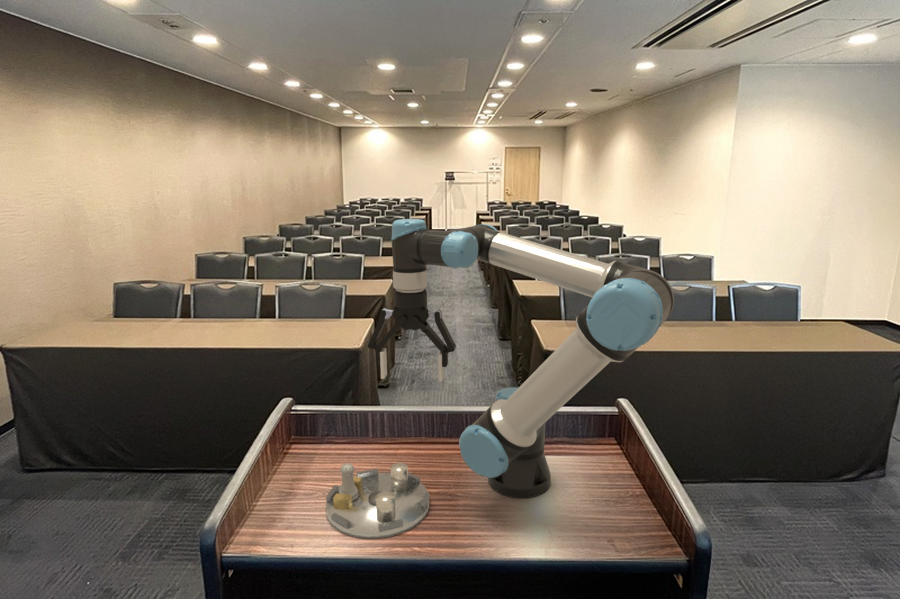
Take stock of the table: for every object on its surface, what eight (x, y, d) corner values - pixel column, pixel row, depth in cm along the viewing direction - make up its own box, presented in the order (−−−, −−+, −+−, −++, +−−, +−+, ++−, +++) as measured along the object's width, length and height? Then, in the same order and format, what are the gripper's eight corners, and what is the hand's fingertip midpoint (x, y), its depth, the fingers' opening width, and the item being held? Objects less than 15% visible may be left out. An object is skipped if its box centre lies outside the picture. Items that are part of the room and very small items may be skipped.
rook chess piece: (354, 504, 124) (352, 471, 122) (335, 501, 125) (333, 469, 123) (361, 492, 128) (360, 461, 126) (343, 490, 129) (341, 459, 127)
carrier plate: (437, 482, 135) (437, 457, 133) (417, 543, 113) (416, 515, 111) (346, 474, 138) (345, 451, 137) (310, 533, 116) (307, 505, 115)
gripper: (467, 286, 126) (467, 375, 131) (361, 284, 130) (365, 370, 135) (463, 294, 119) (463, 387, 123) (351, 291, 122) (355, 381, 127)
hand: (412, 378), depth 129 cm, fingers open, 13 cm apart
